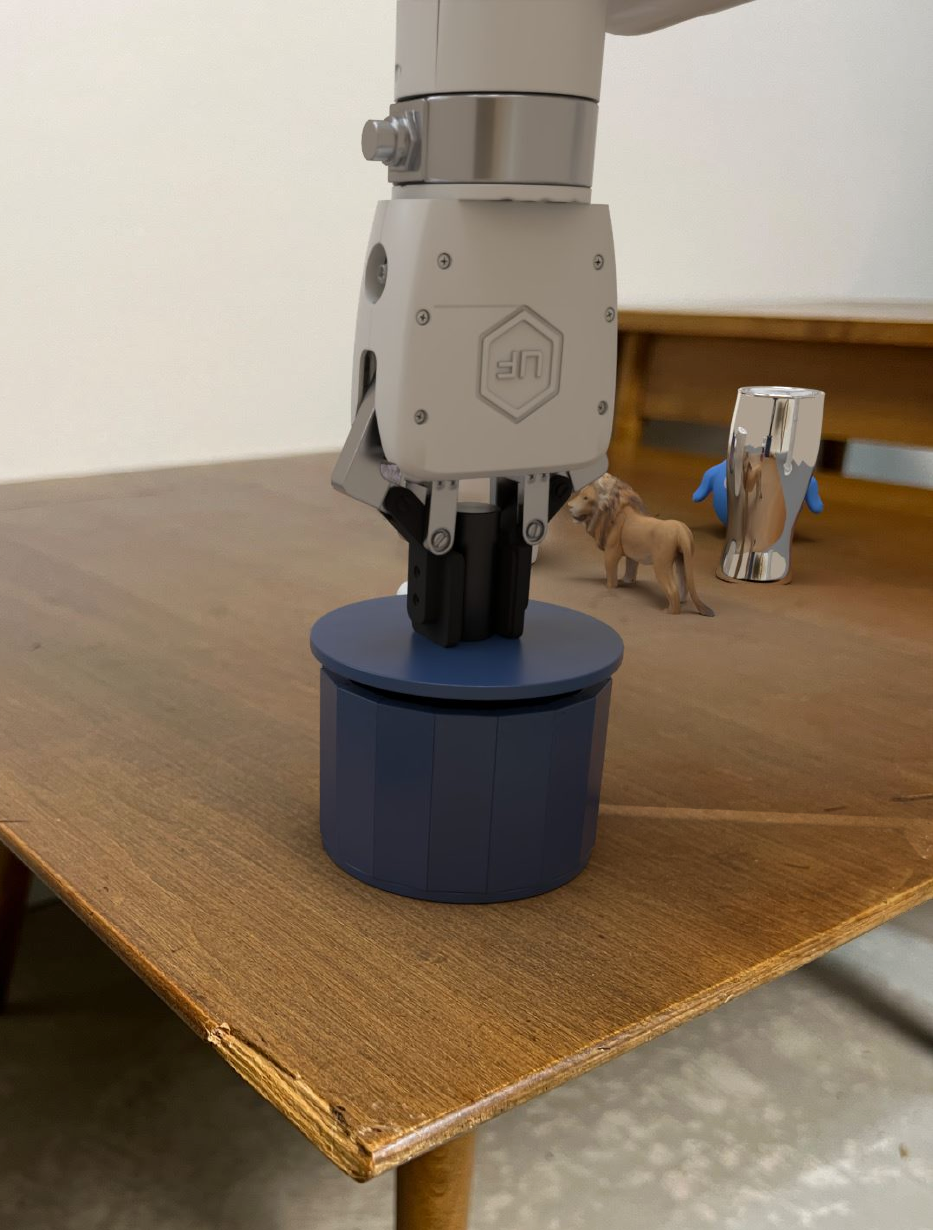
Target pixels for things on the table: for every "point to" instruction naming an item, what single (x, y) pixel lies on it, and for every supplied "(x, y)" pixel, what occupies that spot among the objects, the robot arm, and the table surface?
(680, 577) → the lion figurine
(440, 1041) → the table surface
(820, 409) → the beer glass
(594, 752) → the pot
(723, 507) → the blue mole toy
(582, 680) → the lid
